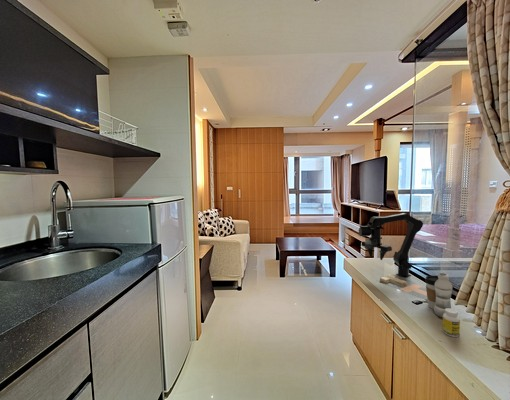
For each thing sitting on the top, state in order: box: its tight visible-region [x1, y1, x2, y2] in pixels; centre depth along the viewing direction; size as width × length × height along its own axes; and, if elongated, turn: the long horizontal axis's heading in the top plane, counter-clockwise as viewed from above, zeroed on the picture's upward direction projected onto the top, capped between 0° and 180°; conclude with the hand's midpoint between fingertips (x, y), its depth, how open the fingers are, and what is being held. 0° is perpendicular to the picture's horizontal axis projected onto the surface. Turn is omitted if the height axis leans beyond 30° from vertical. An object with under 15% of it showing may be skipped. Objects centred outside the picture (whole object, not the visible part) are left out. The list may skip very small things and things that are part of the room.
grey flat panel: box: [376, 278, 428, 302], centre depth 138 cm, size 14×30×1 cm, turn 26°
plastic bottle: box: [433, 272, 453, 319], centre depth 107 cm, size 6×7×20 cm
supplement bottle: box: [442, 308, 461, 338], centre depth 96 cm, size 5×5×10 cm
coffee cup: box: [424, 275, 439, 310], centre depth 115 cm, size 8×8×15 cm
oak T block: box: [379, 273, 408, 286], centre depth 144 cm, size 12×12×2 cm
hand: (376, 258), depth 155 cm, fingers open, 7 cm apart
